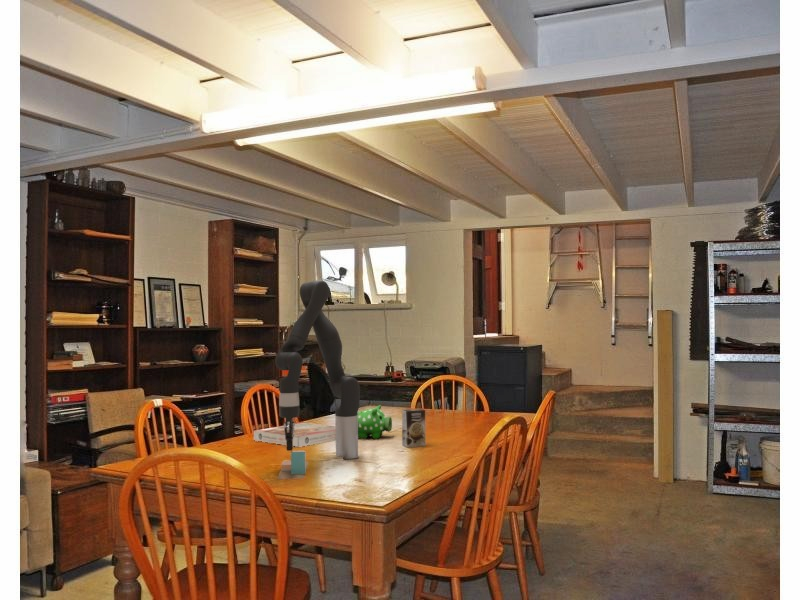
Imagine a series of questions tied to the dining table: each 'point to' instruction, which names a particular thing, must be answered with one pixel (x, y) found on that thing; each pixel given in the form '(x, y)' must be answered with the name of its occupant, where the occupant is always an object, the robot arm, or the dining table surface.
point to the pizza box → (298, 434)
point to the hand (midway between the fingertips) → (289, 450)
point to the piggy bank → (373, 423)
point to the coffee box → (413, 427)
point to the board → (291, 475)
